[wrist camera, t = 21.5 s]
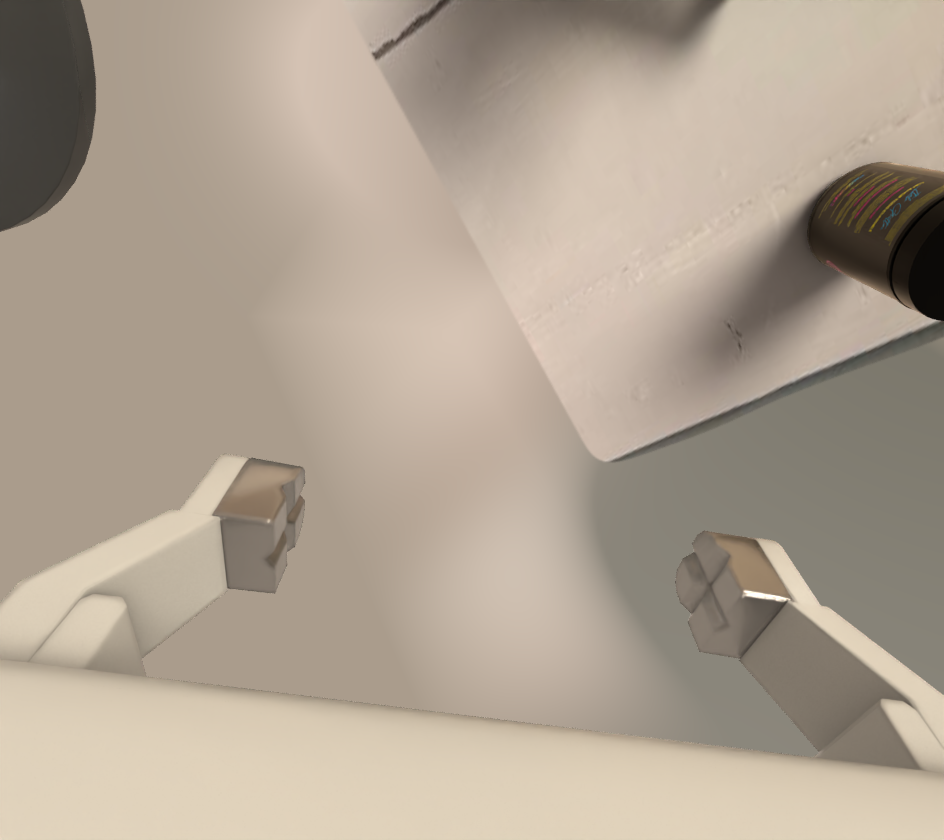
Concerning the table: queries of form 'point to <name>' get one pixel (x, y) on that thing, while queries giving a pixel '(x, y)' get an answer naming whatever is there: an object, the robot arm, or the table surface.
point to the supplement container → (886, 232)
